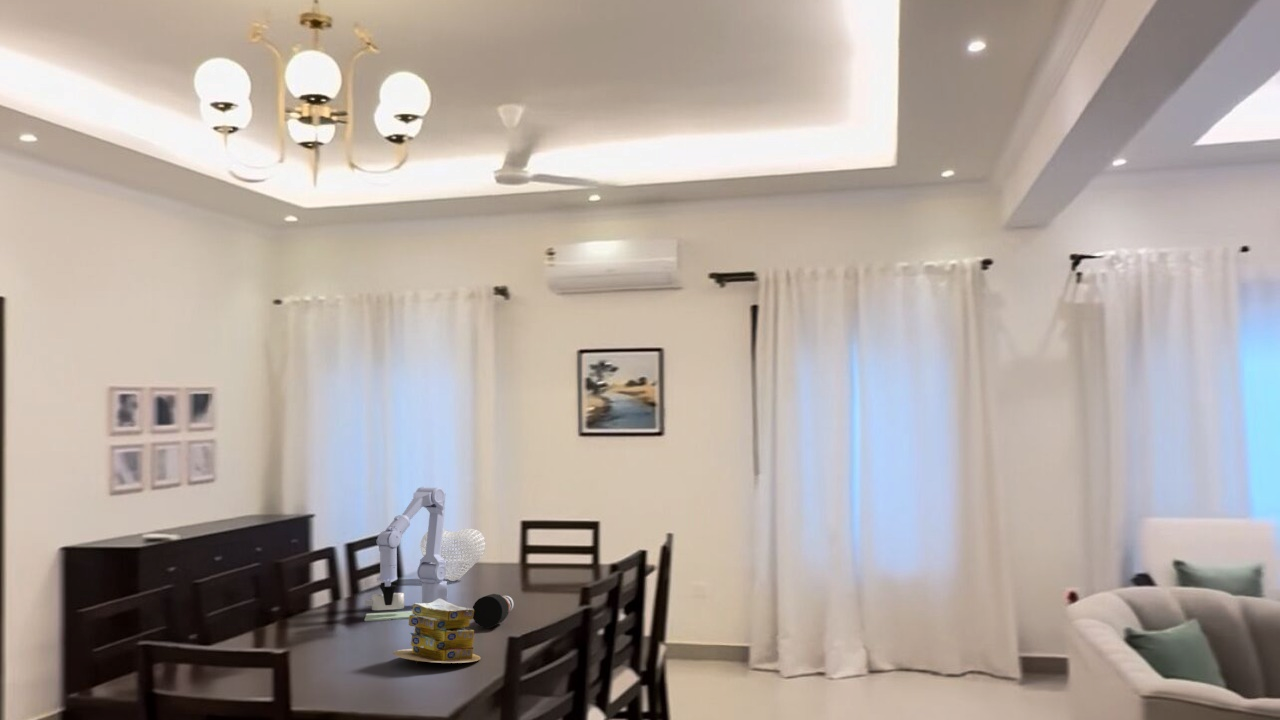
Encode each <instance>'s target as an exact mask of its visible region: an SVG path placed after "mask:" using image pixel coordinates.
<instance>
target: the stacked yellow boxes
mask: <svg viewBox="0 0 1280 720" xmlns="http://www.w3.org/2000/svg"><path fill="white" fill-rule="evenodd" d="M473 615H474V609H473V607H472V608H471V607H467V606H466V607H465V606H459V605H456V604H453V603H452V602H449V601H447V602H446V601H445V600H443V599H437V600H435V601H433V602H430V603H422V602H421V603H420V602H414V604H413V606H412V615H410V617H409V619H408V626H410V627H414V630H413V631H414V632H413V633H412V632H410V634H411V644H410V645H411V646H412V648H405V649H397V650H395V651H393V652H392V655H393V656H395V657H398V658H401V659H406V660H410V661H415V664H416V665H417V664H418V662H427V663H441V664H451V663H452V664H457V663H458V664H462V663H473V662H477V661H480V660H481V656H480V655H478V654H475V653H473V652H474V635H475V629H470V628H469V627H470V620H474V619H473Z"/></svg>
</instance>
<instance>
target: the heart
mask: <svg viewBox="0 0 1280 720" xmlns="http://www.w3.org/2000/svg"><path fill="white" fill-rule="evenodd" d="M427 536H428V531H427V532H426V533H424V534H423V536H422V538H421V541H420V551H421V554H422V555H423V557H424V556H425V555H426V546H427ZM486 544H487V543H486V538H485V536H484V535H483V533H482V532H481V531H479V530H478V529H474V528H463V529H460V530H457V531H450V530H446V529H445V528H443V533H442V543H441V553H440V556H441V557H442V558H443V559H444V560H445V567H446V576H445V579H447V580H449V581H451V582H457V580H459V579H460V578H462V577H463V576H464V575H465V574H466V573H467V572H468V571H469V570H470V569H471V568H473V566H475V564H477V563H478V562H479V560H480V559H481V558H482V556H483V554H484V553H485V550H486ZM459 552H460V553H459ZM462 552H463V553H462ZM430 564H435V563H432V562H431V563H430Z"/></svg>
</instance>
